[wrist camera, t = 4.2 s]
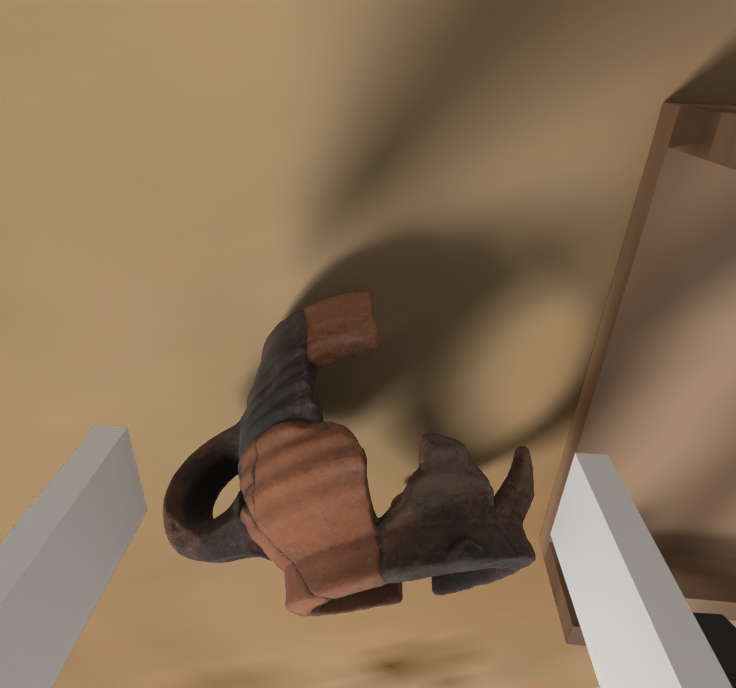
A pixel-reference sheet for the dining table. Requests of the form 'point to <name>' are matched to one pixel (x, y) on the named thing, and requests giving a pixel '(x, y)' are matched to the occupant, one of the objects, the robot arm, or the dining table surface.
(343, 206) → the dining table surface
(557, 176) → the dining table surface
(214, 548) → the pottery mug
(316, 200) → the dining table surface
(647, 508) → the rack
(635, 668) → the robot arm
